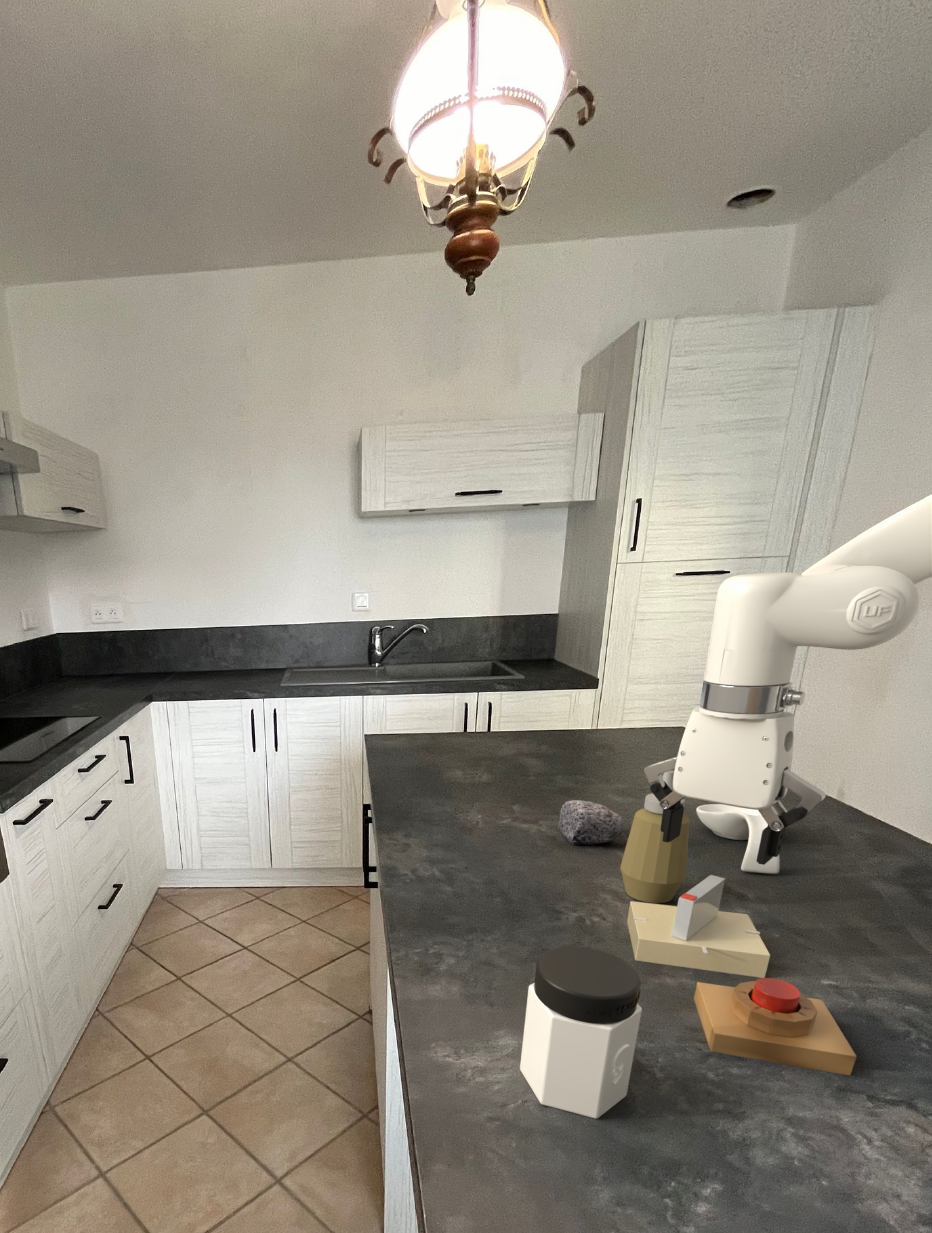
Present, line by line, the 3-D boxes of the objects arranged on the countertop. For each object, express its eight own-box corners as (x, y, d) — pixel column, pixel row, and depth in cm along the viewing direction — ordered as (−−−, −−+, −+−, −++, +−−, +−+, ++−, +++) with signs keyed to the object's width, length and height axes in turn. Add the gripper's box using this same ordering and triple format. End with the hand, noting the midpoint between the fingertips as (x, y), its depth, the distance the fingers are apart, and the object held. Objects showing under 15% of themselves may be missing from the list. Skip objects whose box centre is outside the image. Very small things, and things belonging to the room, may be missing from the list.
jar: (583, 1134, 56) (602, 1012, 52) (502, 1079, 63) (513, 967, 58) (642, 1087, 61) (664, 972, 57) (561, 1041, 67) (575, 934, 63)
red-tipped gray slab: (703, 911, 84) (711, 872, 83) (717, 915, 83) (725, 876, 81) (671, 936, 79) (679, 895, 77) (686, 941, 78) (694, 900, 76)
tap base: (740, 929, 86) (746, 907, 85) (769, 986, 74) (776, 961, 73) (625, 915, 90) (628, 894, 89) (635, 967, 79) (639, 943, 78)
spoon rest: (687, 818, 122) (694, 780, 120) (763, 824, 119) (772, 785, 116) (715, 871, 102) (725, 826, 99) (809, 880, 98) (822, 833, 95)
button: (789, 996, 67) (794, 981, 66) (801, 1017, 64) (806, 1002, 63) (747, 990, 68) (750, 975, 67) (756, 1011, 65) (760, 995, 64)
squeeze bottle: (617, 879, 101) (635, 761, 94) (680, 888, 97) (703, 766, 91) (615, 902, 94) (635, 777, 87) (682, 912, 90) (708, 783, 84)
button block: (817, 1017, 69) (826, 984, 68) (850, 1076, 61) (862, 1039, 60) (693, 999, 73) (700, 966, 71) (710, 1052, 65) (718, 1017, 64)
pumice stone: (609, 846, 118) (552, 824, 121) (629, 806, 115) (570, 785, 118) (609, 867, 109) (547, 843, 112) (630, 825, 106) (566, 802, 109)
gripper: (855, 700, 67) (818, 859, 73) (670, 687, 80) (651, 823, 86) (833, 713, 63) (795, 881, 69) (641, 697, 76) (623, 840, 82)
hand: (715, 849), depth 78 cm, fingers open, 9 cm apart
